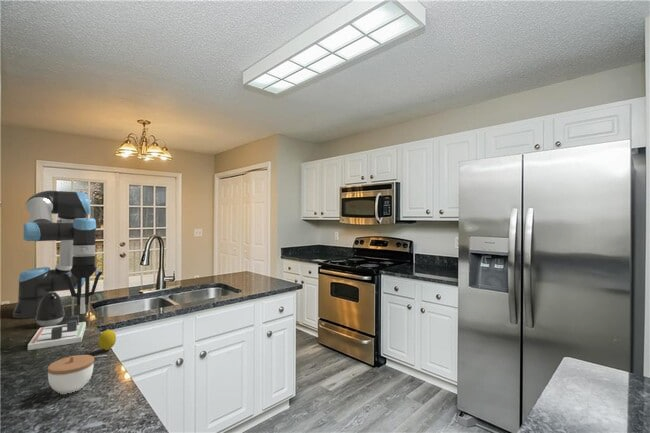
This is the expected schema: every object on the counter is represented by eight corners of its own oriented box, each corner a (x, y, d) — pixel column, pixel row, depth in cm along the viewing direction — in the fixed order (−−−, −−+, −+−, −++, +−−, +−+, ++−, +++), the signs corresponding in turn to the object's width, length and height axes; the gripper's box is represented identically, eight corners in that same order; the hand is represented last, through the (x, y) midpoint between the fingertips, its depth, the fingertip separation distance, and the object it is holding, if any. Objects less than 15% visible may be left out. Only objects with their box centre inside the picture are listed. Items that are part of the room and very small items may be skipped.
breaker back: (70, 323, 142) (70, 316, 142) (78, 322, 144) (79, 315, 144) (69, 325, 140) (69, 317, 140) (78, 324, 141) (78, 316, 141)
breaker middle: (68, 329, 136) (68, 320, 136) (76, 327, 137) (77, 319, 137) (67, 331, 133) (67, 322, 133) (76, 330, 135) (76, 321, 135)
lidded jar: (40, 402, 86) (41, 367, 86) (55, 383, 96) (56, 352, 96) (88, 394, 91) (88, 361, 91) (97, 377, 100) (98, 347, 101)
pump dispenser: (38, 330, 140) (39, 296, 140) (32, 325, 146) (33, 292, 147) (67, 324, 148) (68, 292, 148) (60, 320, 154) (61, 288, 155)
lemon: (113, 346, 124) (114, 325, 124) (117, 350, 120) (117, 329, 120) (96, 350, 120) (97, 329, 121) (99, 354, 116) (100, 332, 117)
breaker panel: (39, 332, 138) (40, 327, 138) (85, 326, 146) (86, 321, 147) (27, 350, 119) (27, 344, 119) (81, 341, 128) (81, 336, 128)
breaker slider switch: (52, 336, 127) (52, 328, 127) (62, 335, 128) (62, 326, 128) (51, 339, 124) (51, 330, 124) (61, 337, 126) (61, 328, 126)
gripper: (62, 257, 124) (60, 317, 124) (102, 255, 131) (101, 312, 131) (65, 255, 131) (63, 313, 130) (103, 253, 138) (102, 308, 137)
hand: (82, 312), depth 130 cm, fingers closed
